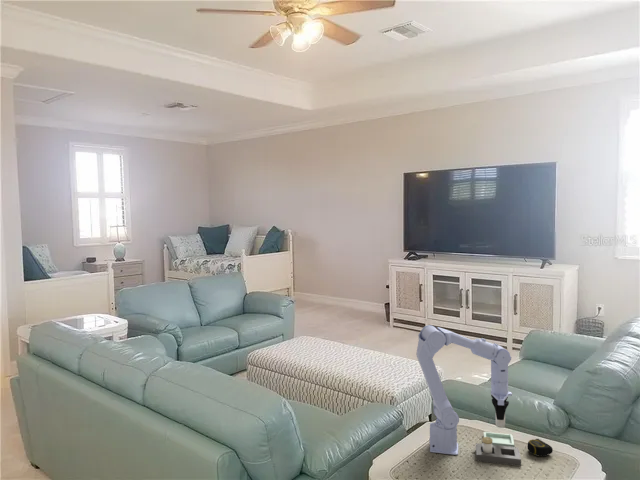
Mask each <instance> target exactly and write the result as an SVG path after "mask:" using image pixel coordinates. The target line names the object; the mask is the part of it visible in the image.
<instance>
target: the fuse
mask: <svg viewBox="0 0 640 480" xmlns="http://www.w3.org/2000/svg"><path fill="white" fill-rule="evenodd" d="M481 441H482V443H481V444H482V448H483V452H482V453H491V454H492V439H491V438H489V437H484V436H483V437H482V438H481Z"/></svg>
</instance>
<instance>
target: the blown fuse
mask: <svg viewBox="0 0 640 480" xmlns="http://www.w3.org/2000/svg"><path fill="white" fill-rule="evenodd" d="M494 413H495V426H496V427H497V428H502V429H503V428H505V427H506V415H505V416H504V420H497V417H496V411H495V410H494Z"/></svg>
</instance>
